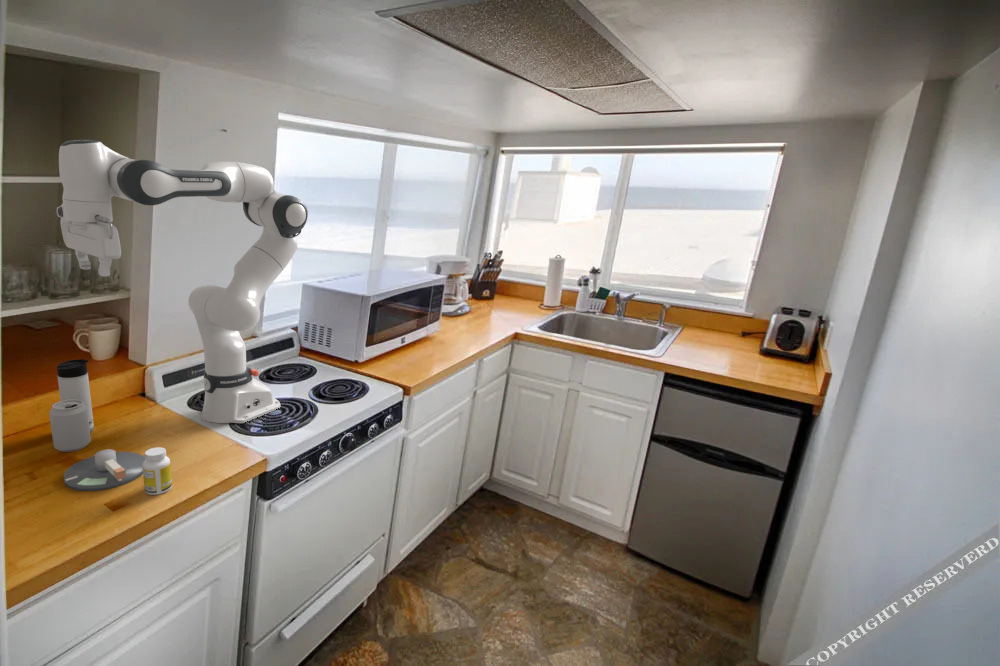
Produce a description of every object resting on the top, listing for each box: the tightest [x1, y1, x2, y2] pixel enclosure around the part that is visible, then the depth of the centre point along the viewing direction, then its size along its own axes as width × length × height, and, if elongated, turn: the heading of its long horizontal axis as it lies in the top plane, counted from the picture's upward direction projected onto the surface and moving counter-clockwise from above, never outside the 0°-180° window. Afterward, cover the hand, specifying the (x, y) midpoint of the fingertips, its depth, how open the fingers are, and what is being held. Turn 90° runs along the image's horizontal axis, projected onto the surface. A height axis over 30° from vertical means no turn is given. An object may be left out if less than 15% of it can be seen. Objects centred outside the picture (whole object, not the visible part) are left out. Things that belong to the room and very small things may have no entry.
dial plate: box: [63, 451, 146, 492], centre depth 126 cm, size 16×16×1 cm
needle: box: [94, 448, 126, 480], centre depth 123 cm, size 11×4×4 cm, turn 55°
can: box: [48, 399, 92, 453], centre depth 134 cm, size 8×8×12 cm
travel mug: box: [56, 358, 95, 433], centre depth 141 cm, size 6×7×20 cm
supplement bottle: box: [142, 446, 173, 496], centre depth 121 cm, size 5×5×10 cm
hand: (94, 272), depth 125 cm, fingers open, 8 cm apart
